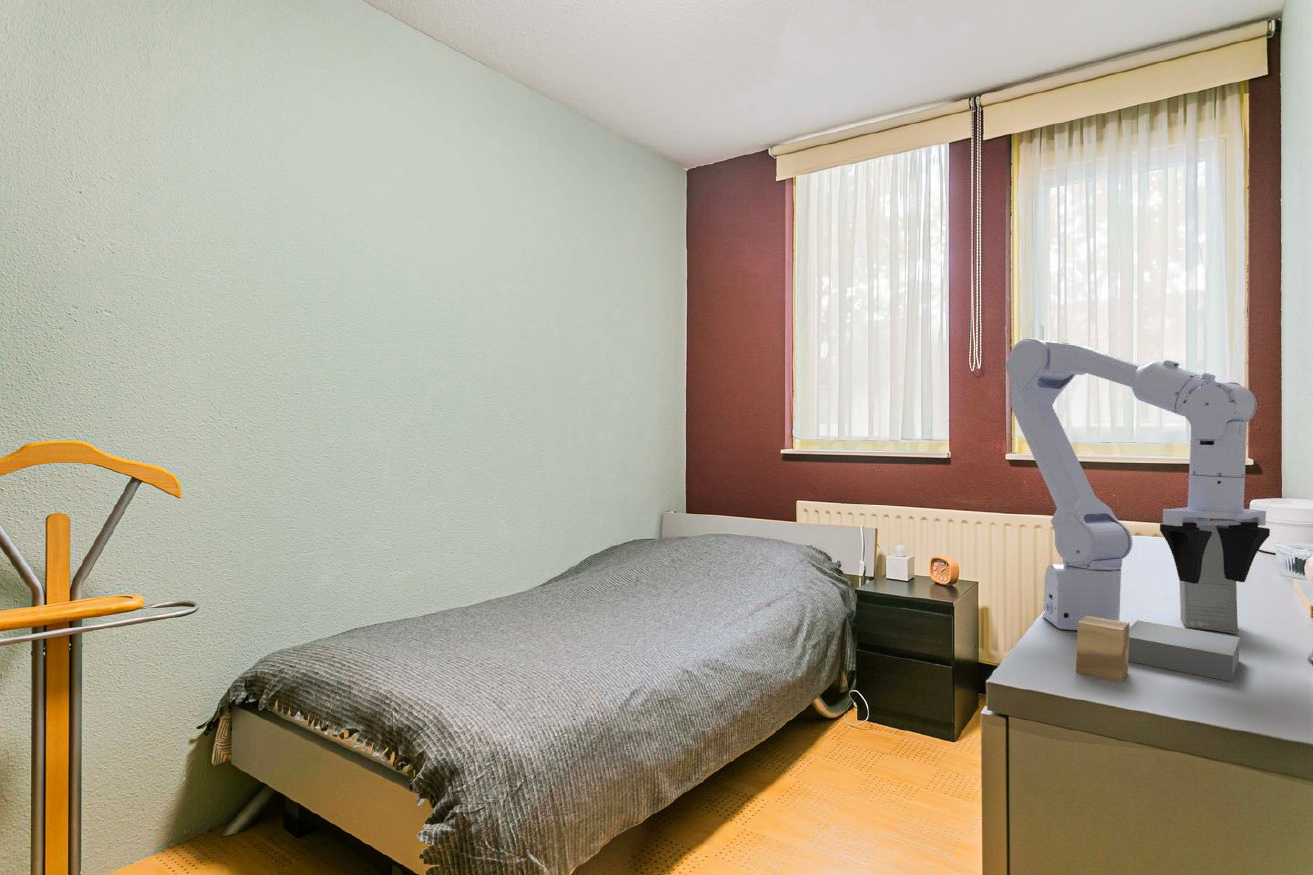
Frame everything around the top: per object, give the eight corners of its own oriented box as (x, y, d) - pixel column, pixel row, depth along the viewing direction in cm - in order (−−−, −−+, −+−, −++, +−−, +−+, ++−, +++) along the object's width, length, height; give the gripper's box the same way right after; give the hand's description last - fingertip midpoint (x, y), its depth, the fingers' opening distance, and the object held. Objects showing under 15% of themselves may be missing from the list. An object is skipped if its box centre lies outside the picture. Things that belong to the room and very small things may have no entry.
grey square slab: (1231, 681, 85) (1232, 655, 85) (1120, 659, 92) (1121, 635, 92) (1238, 660, 93) (1239, 637, 93) (1136, 642, 100) (1137, 620, 100)
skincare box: (1238, 635, 105) (1243, 525, 105) (1177, 627, 109) (1181, 521, 109) (1230, 623, 113) (1234, 520, 112) (1173, 615, 116) (1177, 515, 116)
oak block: (1120, 682, 84) (1122, 629, 84) (1076, 672, 87) (1077, 622, 87) (1127, 673, 87) (1129, 622, 87) (1084, 664, 90) (1086, 615, 90)
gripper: (1201, 477, 89) (1197, 589, 89) (1293, 478, 92) (1288, 586, 92) (1149, 473, 96) (1145, 577, 96) (1236, 474, 99) (1232, 575, 99)
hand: (1212, 581), depth 95 cm, fingers open, 7 cm apart
